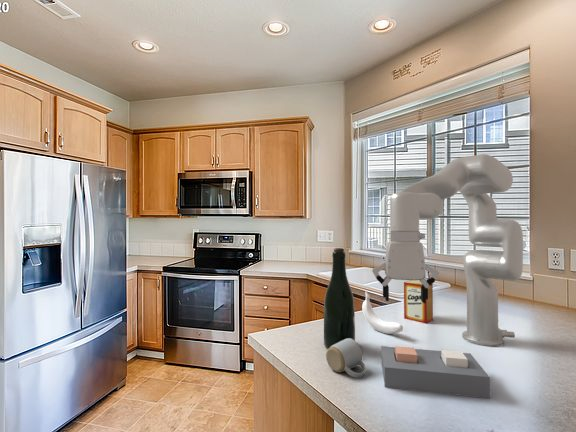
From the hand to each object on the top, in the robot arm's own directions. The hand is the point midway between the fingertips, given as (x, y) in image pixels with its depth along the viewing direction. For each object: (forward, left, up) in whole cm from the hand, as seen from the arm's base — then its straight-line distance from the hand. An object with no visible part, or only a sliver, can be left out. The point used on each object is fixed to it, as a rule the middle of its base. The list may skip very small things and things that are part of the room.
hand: (404, 300), depth 87 cm
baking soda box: (-12, -54, -21) cm, 59 cm away
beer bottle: (+19, -17, -21) cm, 33 cm away
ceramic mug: (+15, 0, -21) cm, 26 cm away
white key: (-12, 0, -18) cm, 22 cm away
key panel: (-6, 0, -20) cm, 21 cm away
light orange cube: (0, 0, -18) cm, 18 cm away
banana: (+4, -34, -21) cm, 40 cm away
